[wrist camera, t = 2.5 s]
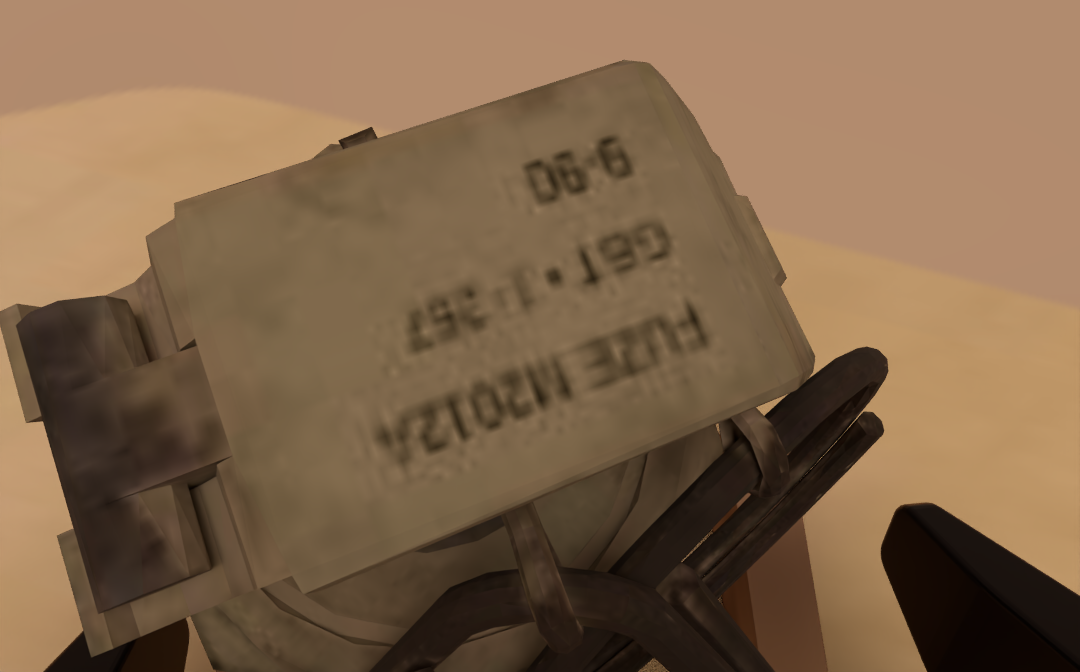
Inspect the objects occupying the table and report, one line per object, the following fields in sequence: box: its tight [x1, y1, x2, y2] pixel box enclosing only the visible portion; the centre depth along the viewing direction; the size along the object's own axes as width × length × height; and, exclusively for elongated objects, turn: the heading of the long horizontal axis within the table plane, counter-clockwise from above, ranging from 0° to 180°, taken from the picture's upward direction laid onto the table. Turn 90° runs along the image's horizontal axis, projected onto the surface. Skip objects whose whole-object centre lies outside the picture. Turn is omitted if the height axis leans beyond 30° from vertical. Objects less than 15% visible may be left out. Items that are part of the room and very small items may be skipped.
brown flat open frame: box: [216, 435, 828, 672], centre depth 16 cm, size 8×13×2 cm, turn 95°
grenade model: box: [0, 60, 888, 672], centre depth 10 cm, size 6×7×15 cm
